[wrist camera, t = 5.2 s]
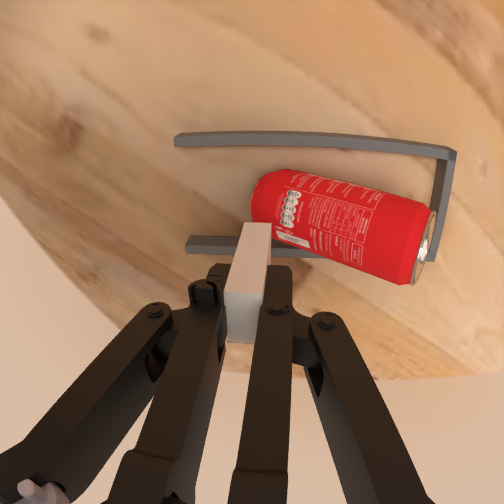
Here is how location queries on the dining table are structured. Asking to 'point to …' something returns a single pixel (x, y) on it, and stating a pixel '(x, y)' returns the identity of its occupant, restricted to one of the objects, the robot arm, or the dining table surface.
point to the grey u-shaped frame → (316, 139)
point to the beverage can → (346, 223)
